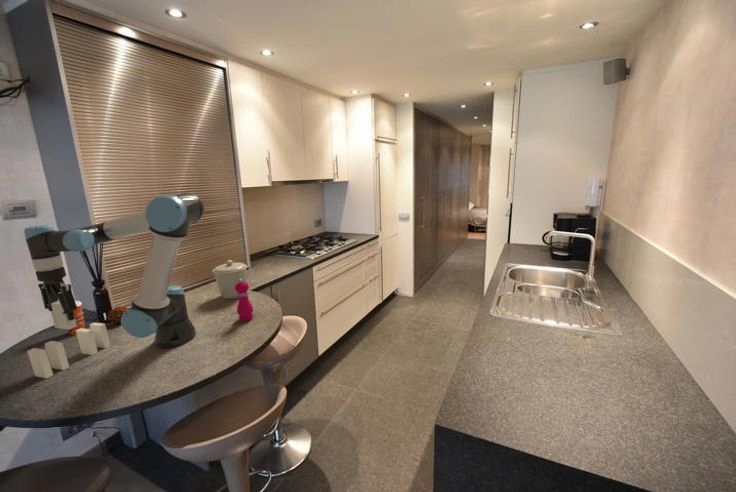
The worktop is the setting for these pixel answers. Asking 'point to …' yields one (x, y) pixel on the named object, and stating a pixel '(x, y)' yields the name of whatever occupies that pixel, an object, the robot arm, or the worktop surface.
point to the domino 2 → (59, 315)
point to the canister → (229, 278)
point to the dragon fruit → (116, 314)
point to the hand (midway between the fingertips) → (66, 326)
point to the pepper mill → (243, 301)
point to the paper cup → (78, 318)
